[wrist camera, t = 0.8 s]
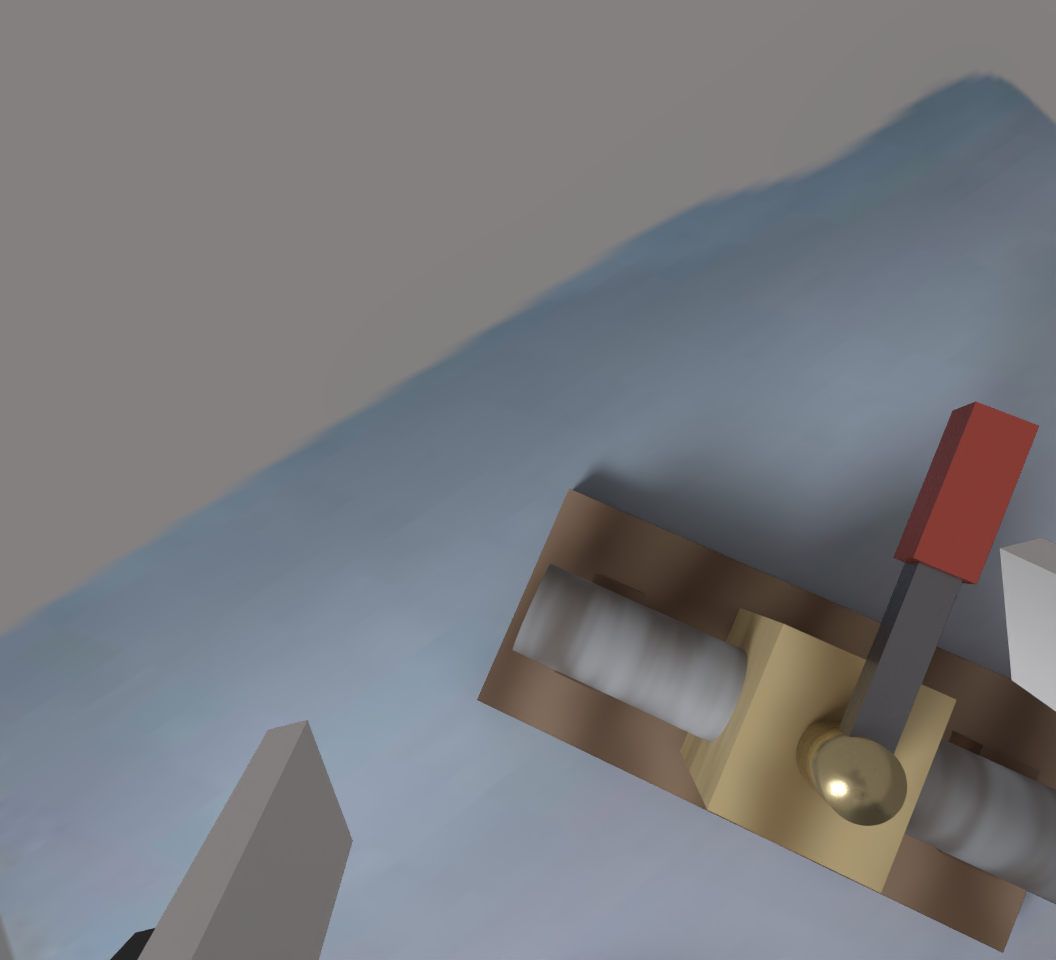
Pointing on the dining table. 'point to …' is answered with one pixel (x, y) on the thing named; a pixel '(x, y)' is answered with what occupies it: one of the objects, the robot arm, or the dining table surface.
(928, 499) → the valve lever
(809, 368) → the dining table surface
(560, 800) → the dining table surface
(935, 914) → the pipe rig
